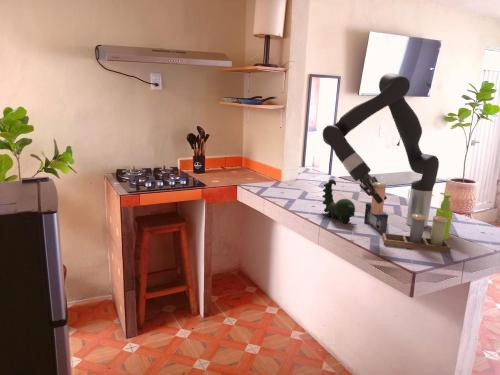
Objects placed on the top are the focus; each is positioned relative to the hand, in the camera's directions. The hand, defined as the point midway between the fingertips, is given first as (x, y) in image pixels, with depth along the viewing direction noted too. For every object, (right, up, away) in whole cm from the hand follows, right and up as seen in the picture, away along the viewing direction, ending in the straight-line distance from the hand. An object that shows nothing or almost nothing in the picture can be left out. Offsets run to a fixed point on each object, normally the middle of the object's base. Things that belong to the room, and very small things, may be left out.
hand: (382, 200), depth 150 cm
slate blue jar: (+13, -17, 0) cm, 21 cm away
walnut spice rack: (+13, -19, +1) cm, 22 cm away
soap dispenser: (+28, -17, +11) cm, 34 cm away
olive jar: (+20, -18, -2) cm, 27 cm away
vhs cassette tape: (+3, -14, +21) cm, 25 cm away
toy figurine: (-10, -10, +35) cm, 37 cm away
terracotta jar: (-2, -5, +2) cm, 6 cm away
